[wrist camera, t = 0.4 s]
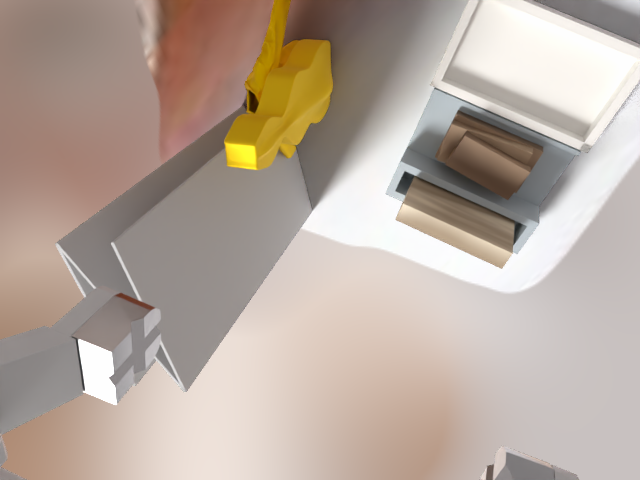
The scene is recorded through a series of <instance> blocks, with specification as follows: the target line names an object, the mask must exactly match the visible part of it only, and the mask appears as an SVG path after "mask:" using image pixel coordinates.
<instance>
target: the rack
mask: <svg viewBox="0 0 640 480" xmlns="http://www.w3.org/2000/svg"><path fill="white" fill-rule="evenodd" d="M458 110H459V111H462V112H464V113H466V114H469V115H471V116H473V117H475V118H478V119H480V120H482V121H485V122H487V123H489V124H492V125H494V126H496V127H498V128H501V129H503V130H505V131H508V132H510V133H512V134H515V135H517V136H519V137H521V138H524V139H526V140H528V141H531V142H533V143H535V144H537V145H540V146H542V147H543V153H542V155H541V157H540V158H539V160H538V161H537V163H536V164H535V166H534V167H533V169H532V170H531V172H530V174H529V175H528V176H527V178H526V179H525V181H524V183H523V184H522V186H521V187H520V189H519V190H518V192H517V193H513V195H512V196H511V197H510V198H509V200H506V199H505V198H503V197H501V196H499V195H498V194H496V193H494V192H492V191H491V190H489V189H487V188H485V187H484V186H482V185H480V184H478V183H476V182H475V181H473V180H471V179H469V178H468V177H466V176H464V175H462V174H461V173H459V172H457V171H455V170H454V169H452V168H450V167H448V166H447V165H445V164H446V163H444V162H441V161H438V160H437V158H435V155H436V153H437V150H438V148H439V146H440V144H441V143H442V141H443V139H444V137H445V135H446V133H447V131H448V129H449V127H450V125H451V123H452V121H453V119H454V117H455V115H456V113H457V111H458ZM580 153H581V151H580V150H578V149H576V148H574V147H572V146H569V145H567V144H565V143H562V142H560V141H558V140H555V139H553V138H551V137H548V136H546V135H544V134H542V133H539V132H537V131H535V130H532V129H530V128H528V127H525V126H523V125H521V124H518V123H516V122H514V121H511V120H509V119H507V118H505V117H502V116H500V115H498V114H495V113H493V112H491V111H488V110H486V109H484V108H481V107H479V106H477V105H475V104H472V103H470V102H468V101H465V100H463V99H461V98H458V97H456V96H454V95H451V94H449V93H447V92H444V91H442V90H440V89H438V88H434V90H433V92H432V95H431V97H430V99H429V101H428V104H427V106H426V108H425V110H424V112H423V114H422V117H421V119H420V121H419V123H418V125H417V127H416V130H415V132H414V134H413V136H412V138H411V140H410V143H409V145H408V147H407V149H406V151H405V153H404V155H403V157H402V159H401V161H400V163H399V165H398V167H397V170H396V172H395V174H394V176H393V178H392V181H391V183H390V185H389V187H388V189H387V191H386V194H387V195H389V196H391V197H393V198H395V199H398V200H400V201H402V202H403V201H404V198H405V196H406V194H407V191H408V189H409V187H410V184H411V182H412V180H413V178H414V176H417V177H419V178H421V179H424V180H426V181H428V182H430V183H433V184H435V185H437V186H439V187H441V188H444V189H446V190H448V191H450V192H453V193H455V194H457V195H459V196H461V197H464V198H466V199H468V200H470V201H472V202H475V203H477V204H479V205H481V206H484V207H486V208H488V209H490V210H492V211H495V212H497V213H499V214H501V215H504V216H506V217H508V218H510V219H512V220H515V225H514V240H513V252H514V253H516V254H518V252H519V251H520V250H521V248H522V247H523V245H524V244H525V243H526V241H527V240H528V238H529V237H530V236H531V234H532V233H533V232H534V230H535V229H536V227H537V226H538V225H539V206H540V205H541V203H542V202H543V200H544V199H545V198H546V196H547V195H548V193H549V192H550V190H551V189H552V188H553V186H554V185H555V183H556V182H557V181H558V179H559V178H560V176H561V175H562V173H563V172H564V171H565V169H566V168H567V166H568V165H569V163H570V162H571V161H572V159H573V158H574V156H575V155H577V156H579V154H580Z"/></svg>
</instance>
